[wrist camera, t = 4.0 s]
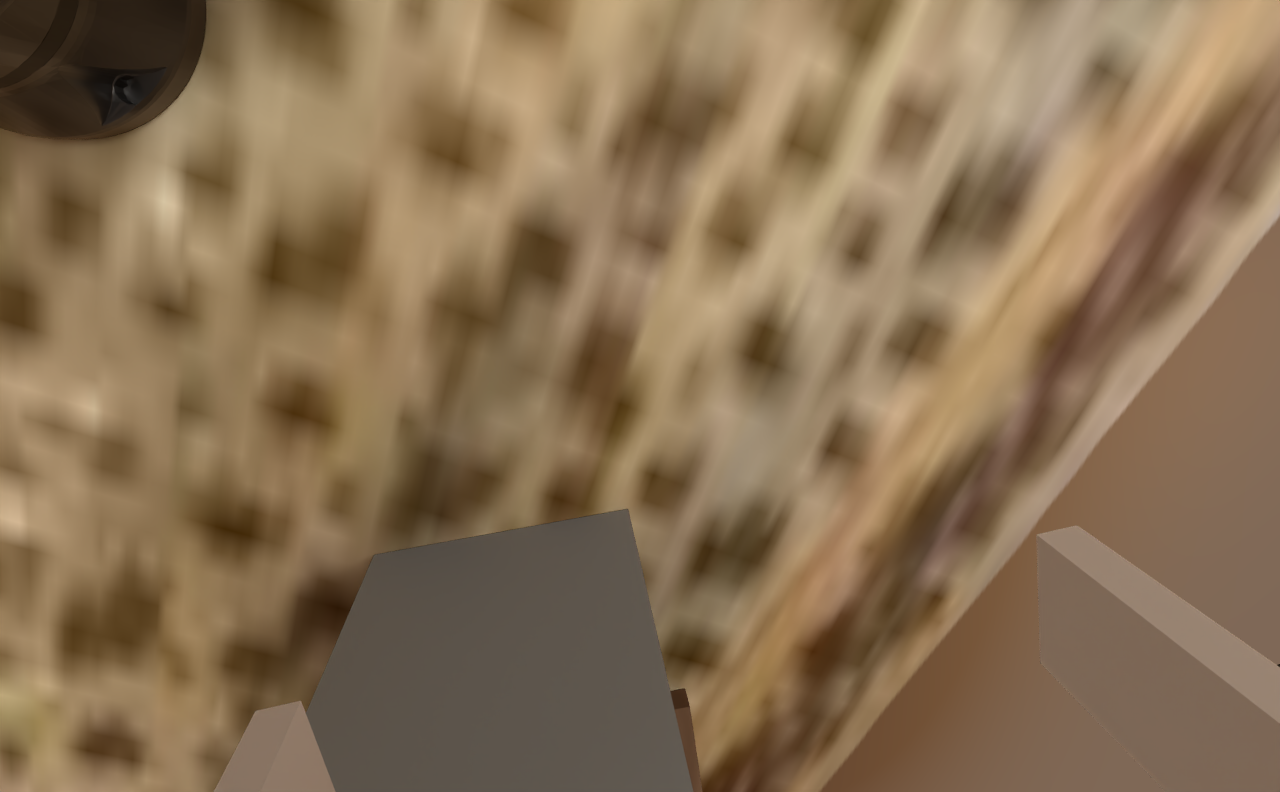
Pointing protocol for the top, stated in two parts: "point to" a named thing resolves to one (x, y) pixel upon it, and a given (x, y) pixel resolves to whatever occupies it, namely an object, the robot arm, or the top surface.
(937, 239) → the top surface
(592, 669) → the slate podium
